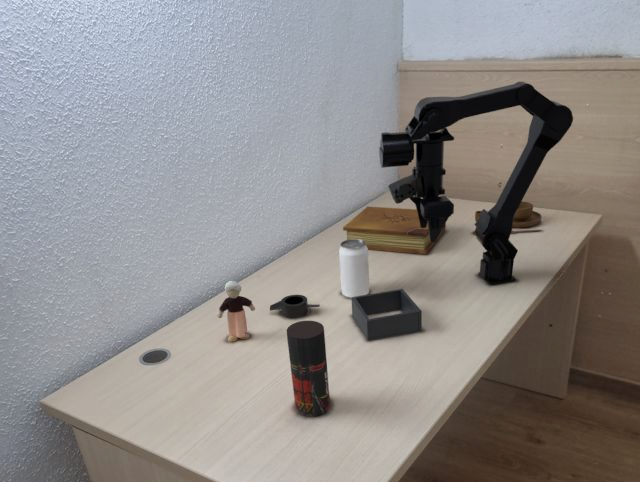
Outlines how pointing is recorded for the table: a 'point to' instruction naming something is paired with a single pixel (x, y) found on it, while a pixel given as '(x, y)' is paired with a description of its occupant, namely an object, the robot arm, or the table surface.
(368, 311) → the bin
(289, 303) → the dark ring with tabs
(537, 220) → the place setting
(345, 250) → the can
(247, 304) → the grandmother figurine
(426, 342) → the table surface
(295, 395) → the deodorant
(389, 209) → the diary
